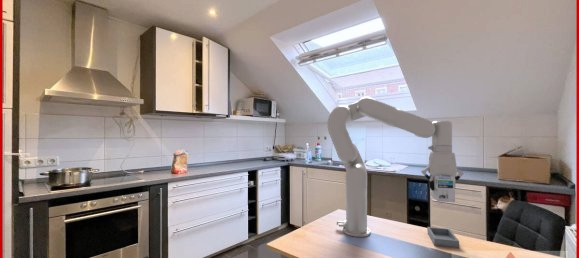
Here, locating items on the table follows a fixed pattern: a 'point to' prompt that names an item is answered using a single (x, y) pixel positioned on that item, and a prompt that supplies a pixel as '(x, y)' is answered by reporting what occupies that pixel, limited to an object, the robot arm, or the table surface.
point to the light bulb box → (443, 188)
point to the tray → (442, 237)
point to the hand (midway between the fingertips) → (441, 190)
